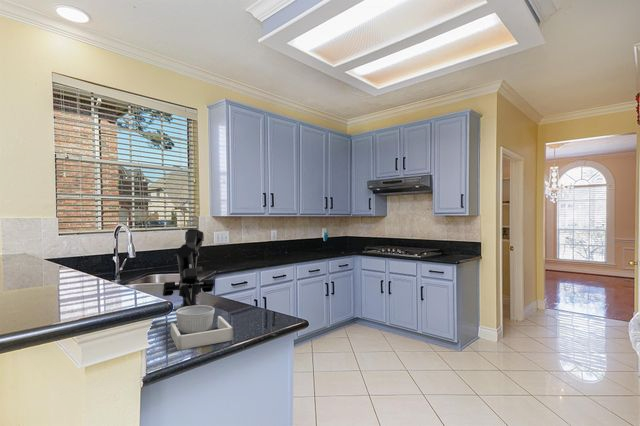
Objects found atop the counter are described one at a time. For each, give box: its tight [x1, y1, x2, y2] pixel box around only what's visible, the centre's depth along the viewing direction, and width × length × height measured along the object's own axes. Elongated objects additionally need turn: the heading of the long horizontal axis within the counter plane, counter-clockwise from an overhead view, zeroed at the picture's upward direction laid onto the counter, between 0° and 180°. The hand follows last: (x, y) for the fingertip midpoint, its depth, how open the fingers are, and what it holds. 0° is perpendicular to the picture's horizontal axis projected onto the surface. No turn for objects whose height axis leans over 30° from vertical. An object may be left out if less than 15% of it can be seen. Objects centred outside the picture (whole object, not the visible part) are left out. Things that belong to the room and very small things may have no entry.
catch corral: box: [170, 315, 234, 351], centre depth 112 cm, size 16×17×4 cm
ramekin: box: [175, 304, 216, 334], centre depth 120 cm, size 13×13×7 cm
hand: (191, 305), depth 126 cm, fingers closed
